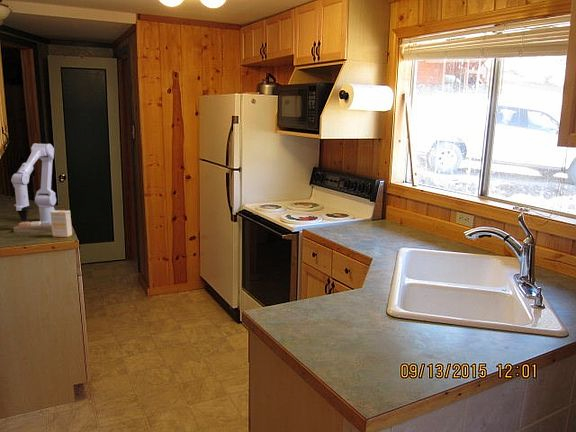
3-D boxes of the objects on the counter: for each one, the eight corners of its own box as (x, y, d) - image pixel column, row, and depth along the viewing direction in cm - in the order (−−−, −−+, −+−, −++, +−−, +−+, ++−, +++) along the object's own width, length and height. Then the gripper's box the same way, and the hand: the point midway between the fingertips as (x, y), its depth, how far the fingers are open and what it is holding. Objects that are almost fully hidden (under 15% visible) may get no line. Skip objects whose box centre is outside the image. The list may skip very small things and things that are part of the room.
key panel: (21, 226, 266) (21, 222, 266) (57, 225, 270) (56, 221, 270) (13, 232, 254) (13, 227, 253) (51, 231, 258) (50, 226, 257)
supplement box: (72, 235, 251) (70, 210, 248) (67, 237, 246) (65, 212, 243) (57, 234, 251) (55, 209, 249) (52, 237, 247) (49, 211, 244)
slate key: (43, 224, 264) (43, 221, 264) (52, 224, 265) (51, 220, 265) (41, 226, 260) (41, 222, 260) (50, 226, 261) (49, 222, 261)
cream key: (32, 225, 263) (32, 221, 263) (41, 225, 264) (41, 221, 264) (30, 227, 259) (30, 223, 259) (39, 226, 260) (38, 222, 260)
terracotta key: (21, 225, 262) (21, 221, 262) (30, 225, 263) (29, 221, 263) (19, 227, 258) (18, 223, 258) (27, 227, 259) (27, 223, 258)
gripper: (17, 194, 263) (20, 218, 266) (8, 198, 249) (11, 224, 252) (32, 193, 265) (34, 218, 267) (23, 198, 251) (26, 224, 254)
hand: (24, 221), depth 260 cm, fingers closed
